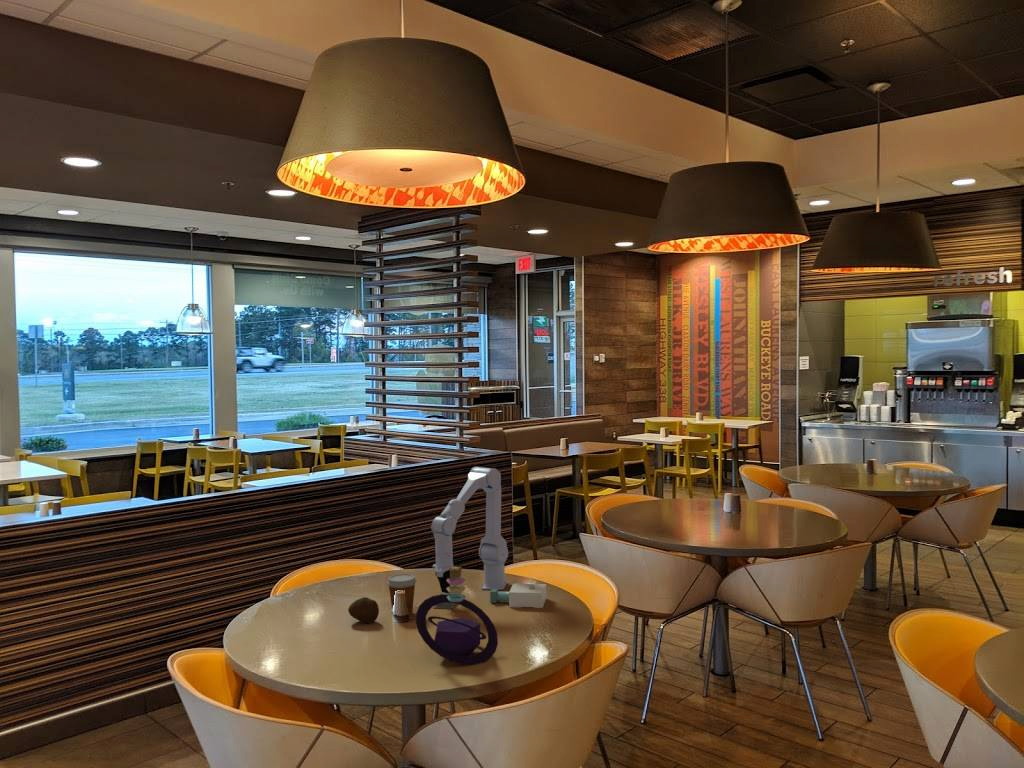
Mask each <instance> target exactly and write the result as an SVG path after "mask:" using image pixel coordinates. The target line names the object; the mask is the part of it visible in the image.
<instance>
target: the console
mask: <svg viewBox="0 0 1024 768" xmlns="http://www.w3.org/2000/svg"><path fill="white" fill-rule="evenodd" d="M454 590H456V589H454ZM444 594H448V595H452V594H450V593H444V592H442V591H441V593H440V594H439V595H444ZM455 594H456V593H455ZM457 594H461V593H457ZM455 606H456V604H455V603H446V602H445V603H440V604H437V605H435V606H433V607H432V609H448V610H450V609H453V608H455Z"/></svg>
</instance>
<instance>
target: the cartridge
mask: <svg viewBox="0 0 1024 768" xmlns="http://www.w3.org/2000/svg"><path fill="white" fill-rule="evenodd" d="M489 593H490V594H489V599H490V600H489V601H490V602H489V603H492V604H493V603H495V604H497V602H509V591H503V590H502V591H501V590H498V589H490V592H489Z"/></svg>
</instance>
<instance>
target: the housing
mask: <svg viewBox="0 0 1024 768" xmlns="http://www.w3.org/2000/svg"><path fill="white" fill-rule="evenodd" d="M546 588H547V584H546V583H516V582H515V583H513V584H512V586H511V587H510V590H509V591H508V592H509V601H508V602H509V603H508V605H509V608H521V607H534V608H533V609H543V608H544V605H545V604H546V600H547V589H546Z"/></svg>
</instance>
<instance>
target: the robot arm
mask: <svg viewBox="0 0 1024 768" xmlns="http://www.w3.org/2000/svg"><path fill="white" fill-rule="evenodd" d="M501 476H502V474H501V472H500V471H499V470H498V469H497V468H494V467H493V468H489V467H482V466H473V467H472V468H471V469H470V471H469V473H468V474H467V481H466V482H465V483H464V486H463V487H462V489H461V490H460V492H459V494H458V495H457V497H456V498H455V499H451V500H450V501H449V502H448V504H447V505H446V506H445V508H444V509H443V510H442V512H441V513H440V515H438V516H436V517H435V518H434V519H433V520H432V521H431V525H430V529H431V531H432V533H433V537H434V543H435V546H434V547H435V563H434V564H433V565H432V568H433V569H434V568H435V569H436V571H435V572H434V573H435V577H436V578H437V580H438V583H439V585H440V591H441V593H442V592H444V593H448V592H449V591H448V590H447V587H450V586H451V585H450V584H449V583H448V582H447V581H446V580H447V579H448V578H451V577H450V571H449V568H450V567H455V566H454V565H455V564H454V560H453V559H454V558H453V555H454V554H453V533H454V532H455V531H456V528H457V523H458V520H459V518H461V516H462V514H463V513H464V511H465V509H466V507H465V506H466V505H465V504H466V503H467V502H468V500H469V499H470V498H472V496H473V495H474V494H475V493H476V491H477V490H480V489H481V490H483V491H484V492H486V493H485V494H486V496H485V536H483V538H481V539H480V546H479V549H478V557H480V559H481V560H482V561H481V562H482V563H483V579H484V580H483V581H484V583H483V586H482V587H481V590H492V589H498V591H501V590H502V591H503V590H505V588H506V586H507V584H508V580H506V579H505V578H506V577H505V576H506V574H505V573H506V571H505V563H506V561H507V559H508V558H509V557H508V556H509V549H508V543H507V541H506V539H504V537H503V536H502V535H501V533H502V524H501V523H502V484H501V483H502V477H501Z"/></svg>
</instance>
